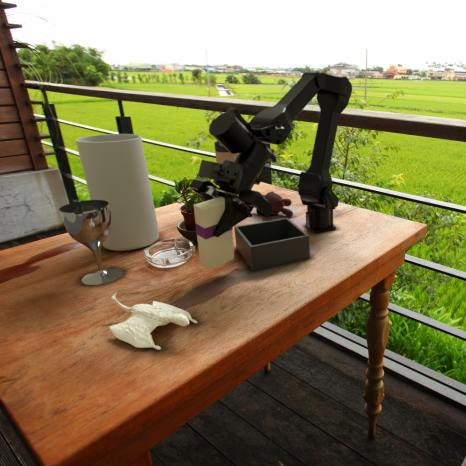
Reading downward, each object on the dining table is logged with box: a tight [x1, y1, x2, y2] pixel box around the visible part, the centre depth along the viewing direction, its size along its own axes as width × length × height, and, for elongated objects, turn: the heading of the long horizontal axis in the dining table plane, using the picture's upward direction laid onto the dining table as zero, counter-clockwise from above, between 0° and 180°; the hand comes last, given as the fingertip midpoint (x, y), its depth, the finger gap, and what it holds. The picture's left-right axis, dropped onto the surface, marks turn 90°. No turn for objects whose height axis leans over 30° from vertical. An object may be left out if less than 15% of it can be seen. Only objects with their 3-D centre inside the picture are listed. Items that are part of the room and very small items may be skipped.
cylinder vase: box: [75, 133, 160, 252], centre depth 90 cm, size 12×12×25 cm
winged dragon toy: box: [109, 291, 198, 351], centre depth 63 cm, size 18×10×4 cm, turn 66°
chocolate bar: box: [193, 197, 235, 270], centre depth 76 cm, size 3×6×13 cm, turn 142°
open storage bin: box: [233, 217, 311, 271], centre depth 89 cm, size 13×13×6 cm
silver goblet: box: [58, 199, 123, 286], centre depth 76 cm, size 8×8×15 cm
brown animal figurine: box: [262, 191, 294, 217], centre depth 114 cm, size 7×7×15 cm
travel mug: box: [213, 140, 238, 164], centre depth 118 cm, size 8×8×20 cm
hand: (208, 234), depth 75 cm, fingers closed on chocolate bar, 3 cm apart
